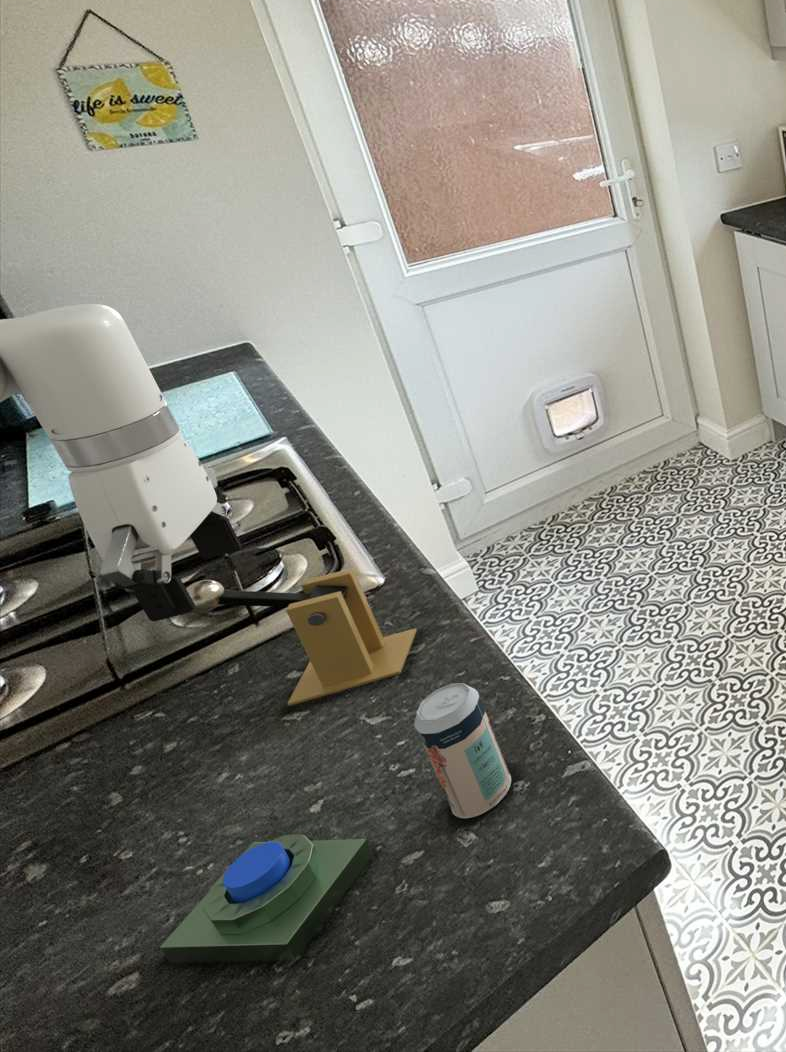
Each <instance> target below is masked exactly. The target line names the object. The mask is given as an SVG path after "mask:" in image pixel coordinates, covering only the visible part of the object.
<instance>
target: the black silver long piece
mask: <svg viewBox="0 0 786 1052" xmlns="http://www.w3.org/2000/svg"><path fill="white" fill-rule="evenodd" d="M185 588H186V590H187V591H188V593H189V595H190V597H191V598H192V600H193V602H194V604H195V608H194V609H193V610H192V611H191V612H190V613H189V614H195V615H196V614H204V613H208V612H210V611H213V610H214V609H216V608H217V607H218V606H244V607H247V606H248V607H267V608H269V607H271V608H287V607H288V606H289V604H292V603H296V602H300V601H304V600H308V599H312V598H316V597H320V596H323V595H327V594H331V593H335V592H339V591H341V593H342V596H343V598H344V600H345V599H346V595H347V590H348V587H347V586H326V585H316V586H315V588H314V589H313V591H312V593H311V594H305V593H301V592H281V591H280V592H278V591H257V590H256V591H255V590H252V591H251V590H234V589H233V590H229V589H225V587H224V586H223V584H221V583H220V582H218V581H216V580H212V579H202V580H199V581H196V582H193V583H191V584H190V585H188V586H187V587H185Z"/></svg>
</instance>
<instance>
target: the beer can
mask: <svg viewBox="0 0 786 1052" xmlns="http://www.w3.org/2000/svg"><path fill="white" fill-rule="evenodd" d="M413 724H414V729H415V730H416V731H417V734H418V736H419V738H420V741H421V743H422V745H423V747H424V751H425V752H426V754H427V757H428V759H429V761H430V763H431V766H432V768H433V770H434V773H435V775H436V777H437V780H438V782H439V783H440V787H441V789H442V791H443V793H444V795H445V797H446V800H447V803H448V804H449V807H450V809H451V813H452V814H453V815H454V816H455V817H457V818H460V819H470V818H475V817H478V816H481V815H483V814H485V813H486V812H488V811H489V810H491V809H493V808H495V806H497V805H498V804H499V803H500V802H501V800H503V799H504V797H505V796H506V795H507V794H508V791H509V790H510V787H511V784H512V776H511V774H510V771H509V769H508V765H507V764H506V761H505V758H504V755H503V753H502V751H501V748H500V745H499V743H498V741H497V738H496V735H495V732H494V730H493V727H492V724H491V723H490V720H489V717H488V715H487V712H486V710H485V707H484V705H483V701H482V700H481V697H480V694H479V692H478V690H477V689H476V688H474V687H471V686H469V685H468V684H466V683H464V682H463V683H461V682H459V683H449V684H447V685H445V686H442V687H440V688H438V689H435V690H434V691H433V692H431V693H430V694H429V695H428V696H426V697H425V698H424V699H423V700H422V701H421V702H420V704H419V706H418V709H417V711H416V716H415V718H414V723H413Z"/></svg>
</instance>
